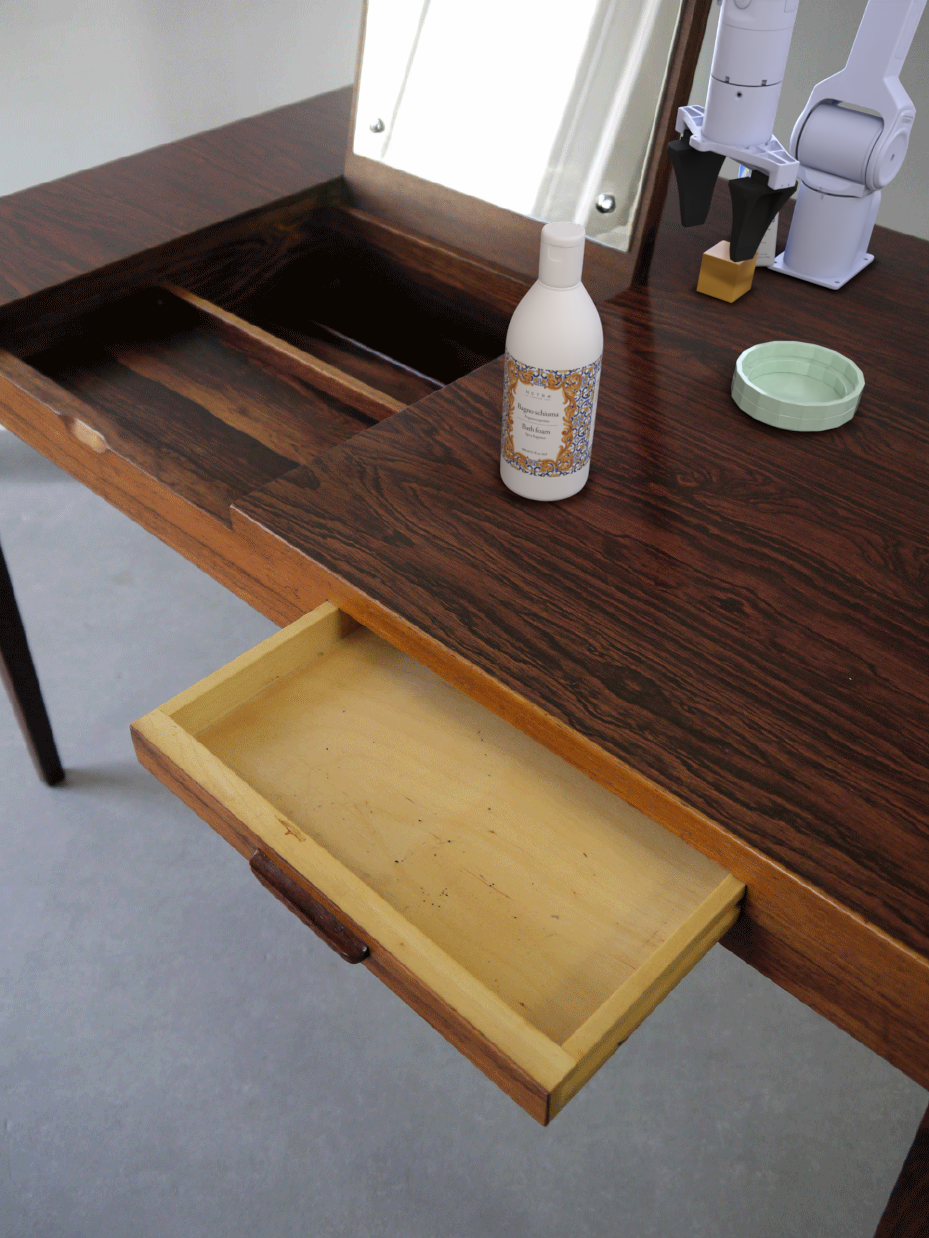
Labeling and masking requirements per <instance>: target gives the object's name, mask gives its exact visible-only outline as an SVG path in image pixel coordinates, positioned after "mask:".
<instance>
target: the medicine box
mask: <svg viewBox="0 0 929 1238" xmlns="http://www.w3.org/2000/svg"><path fill="white" fill-rule="evenodd" d="M751 172H752V171H751V170H749V169H748V168H746V167H744V166H743V165H741V164H739V163H738V173H737V178H742V177H748V176H749V177H751ZM779 215H780V211H779V212H778V213H777V215H776V216H775V218H774V219H773V221H772V222H771V224H770V226H769V228H768V229H767V231H766V233H765V235H764V237H763V239H762V241H761V243H760V245H759V247H758V249H757V251H758V256H757V260H756V265H755V268H756V267H757V268H758V267H767V266H773V265H774V260H775V258H776V248H777V247H776V246H777V236H778V225H779Z"/></svg>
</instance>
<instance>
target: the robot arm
mask: <svg viewBox="0 0 929 1238" xmlns="http://www.w3.org/2000/svg"><path fill="white" fill-rule="evenodd" d="M715 2H716V6H718V8H720V10H719V16H718V24H717V30H716V36H715V41H714V48H713V55H712V59H711V67H710V74H709V80H708V86H707V93H706V100H705V104H704V107H703V106H701V105H699V104H693V105H686V106H680V107H678V109H677V116H676V122H675V123H676V124H675V131H676V132H678V133H680V134H682V135H681V136H680V139H677V140H671V141H670V142H668V143H667V147H666V152H667V154H668V157H669V159H670V162H671V165H672V168H673V171H674V175H675V180H676V185H677V193H678V203H679V210H680V211H679V213H680V222H681V226H682V228H683V227H684V228H685V229H687V228H691V227H698V226H703V225H704V224H705V223H706V220H707V218H708V215H709V212H710V208H711V204H712V199H713V195H714V191H715V187H716V184H717V181H718V178H719V175H720V172H721V171H722V167H723V165H724V163H725V161H726V159H727V158H729V159H730V160H732V161H734V162H736V163H738V165H739V164H741V165H743V166H744V167H746V168H748V169H749V170H751V171H752V172H751V177H749V176H748V177H742V178H738V177H737V178H732V179H728V183H727V186H728V190H729V193H730V200H731V210H732V211H731V213H732V218H731V219H732V221H731V223H732V224H731V230H730V239H729V242H730V248H729V254H730V260H732V261H733V262H740V261H745V260H750V259H753V258H754V256H755V254H756V251H757V249H758V247H759V245H760V243H761V241H762V239H763V237H764V235H765V233H766V231H767V229H768V228H769V226H770V224H771V222H772V221H773V219H774V218H775V216H776V215H777V213H778V212H779V213H780V211H781V210H782V208H783V207H784V205H785V204H786V203H787V202H788V201H789V199H790V198H791V197H792V196H793V195H794V194H795V193H796V192H797V191H798V192H797V197H796V201H795V205H794V209H793V214H792V217H791V222H790V227H789V231H788V236H787V239H786V245H785V248H784V251H782V252H781V253H779V254H778V255H777V256H775V260H774V265H773V266H766V268H767V269H768V270H771V271H775V272H777V273H781V274H784V275H787V276H790V277H794V278H796V279H800V280H803V281H806V282H809V283H812V284H815V285H818V286H821V287H823V288H824V287H825V288H828V289H831V290H839V289H840V288H841V287H843V286H844V285H845V284H846V283H848V282H849V281H850V280H851V279H852V278H854V277H855V276H856V275H857V274H859V273H860V272H861V271H862V270H864V269H865V268H866V267H867V266H868V265H870V264H871V263H872V262H873V261H874V259H875V256H874V255H873V254H871V253H868V248H869V244H870V241H871V237H872V234H873V230H874V226H875V223H876V220H877V216H878V213H879V209H880V206H881V202H882V191H881V190H882V189H884V188H885V187H886V186H888V185H890V183H891V182H892V181H893V180H894V178H895V177H896V176H897V175H898V173H899V171H900V169H901V167H902V165H903V163H904V161H905V158H906V156H907V153H908V152H907V151H908V148H909V143H910V136H911V131H912V128H913V125H914V122H915V118H916V114H917V109H916V107H915V105H914V103H913V101H912V99H911V98H910V96H909V94H908V93H907V91H906V89H905V87H904V86H903V84H902V83H901V80H900V78H899V77H900V75H901V72H902V70H903V69H902V68H903V66H904V63H905V61H906V58H907V56H908V53H909V50H910V47H911V45H912V42H913V39H914V37H915V34H916V32H917V29H918V26H919V23H920V21H921V17H922V16H923V13H924V10H925V7H926V5H927V3H928V0H868V1H867V4H866V6H865V9H864V12H863V16H862V18H861V21H860V24H859V26H858V30H857V33H856V35H855V38H854V41H853V43H852V47H851V50H850V53H849V55H848V59H847V61H846V63H845V67H844V68H843V69H841V70H840V71H838V72H836V73H834V74H833V75H831V76H829V77H827V78H825V79H823V80H822V81H820V82H818V83H817V84H815V85H814V86H813V88H812V90H811V92H810V95H809V98H808V100H807V103H806V105H805V107H804V108H803V110H802V111H801V114H800V115H799V116H798V118H797V120H796V122H795V124H794V126H793V129H792V131H791V135H790V140H789V153H788V151H787V149H785V147H784V146H783V144H781V143H780V141H779V140H778V139H777V137H776V136H775V135H774V134H773V131H774V125H775V120H776V115H777V111H778V107H779V106H778V105H779V102H780V96H781V93H782V86H783V82H784V76H785V72H786V66H787V62H788V57H789V52H790V47H791V42H792V38H793V32H794V27H795V22H796V17H797V13H798V7H799V3H800V0H716V1H715ZM841 103H847V104H851V105H853V106H858V107H862V108H866V109H869V110H873V111H875V112H877V113H878V114H880V116H877V115H874V114H871V113H867V112H864V111H859V110H856V109H852V108H849V107H846V106H842V105H840V104H841ZM797 179H799V180H800V184H799V181H798V180H797ZM798 186H799V188H798Z"/></svg>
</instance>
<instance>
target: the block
mask: <svg viewBox="0 0 929 1238" xmlns="http://www.w3.org/2000/svg"><path fill="white" fill-rule="evenodd" d="M729 248H730V241H728V240H721V241H719V242H718V243H717V244H715V245H714V246H712V247H710V248H709V249H707V250H706V251H705V252H703V253H702V257H701V262H700V263H701V264H700V269H699V275H698V282H697V286H696V292H699V293H700V294H704V295H707V296H710V297H713V298H716V299H719V300H722V301H725V302H728V303H731V304H732V303H733V302H735V301H737V300H738V299H739V298H740V297H742V296H743V295H745V294H746V293H747V292H748V291H750V290H751V288H752V283H753V279H754V274H755V269H756V267H755V265H756V260H757V256H758V251H756V254H755V256H754V258H753V259H750V260H745V261H740V262H733V261H732V260H730V254H729Z"/></svg>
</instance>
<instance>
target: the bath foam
mask: <svg viewBox="0 0 929 1238" xmlns="http://www.w3.org/2000/svg"><path fill="white" fill-rule="evenodd" d="M585 244H586V230H585V228H584V227H583V226H582V225H581V224H578V223H577V222H573V221H568V220H557V221H551V222H548V223H546V224H544V226H543V227H542V228H541V232H540V244H539V245H540V246H539V259H538V278H537V279H536V281H535V282H534V283H533V284H532V286H531V287H530V289H528V291H527V292H526V294H525V295H524V296H523V297H522V299H521V300H520V302H519V303H518V305H517V306H516V307H515V310H514V311H513V314H512V316H511V319H510V323H509V325H508V327H507V328H508V329H507V333H506V339H505V346H504V347H505V349H504V368H503V369H504V372H503V389H502V390H503V393H502V414H501V418H502V419H501V437H500V465H499V471H500V472H499V473H500V478H501V480H502V482H503V483H504V485H505V486H506V487H507V488H508V489H509V490H510V491H511V492H513V493H515V494H516V495H518V496H520V497H522V498H525V499H528V500H533V501H539V502H554V501H555V502H556V501H561V500H564V499H567V498H571V497H572V496H574V495H577V493H579V492H580V491H581V490H582V489H583V488H584V486H585V485H586V483H587V482H588V478H589V472H590V463H591V457H592V449H593V440H594V434H595V433H594V431H595V423H596V416H597V406H598V397H599V389H600V380H601V372H602V363H603V355H604V333H603V325H602V321H601V316H600V315H599V312H598V309H597V307H596V305H595V303H594V302H593V299H592V298H591V295H590V294H589V293H588V291H587V288H585V286H584V284H583V282H582V276H583V275H582V273H583V265H584V255H585Z"/></svg>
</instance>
